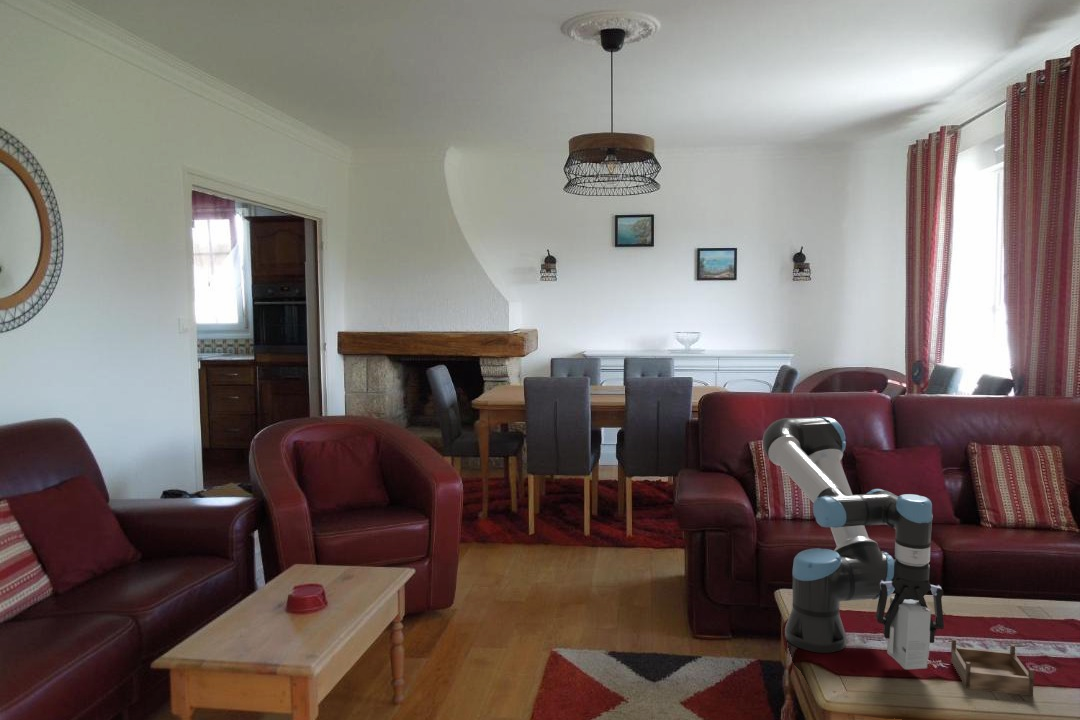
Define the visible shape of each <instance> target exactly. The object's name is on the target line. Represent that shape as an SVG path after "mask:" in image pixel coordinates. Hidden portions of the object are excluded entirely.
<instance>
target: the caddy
mask: <svg viewBox="0 0 1080 720" xmlns="http://www.w3.org/2000/svg"><path fill="white" fill-rule="evenodd" d="M950 644H951V648H950V650H951V651H950V663H951V665H952V664H953V665H952V666H954V667H955V668H954V667H953V668H954V670H955V669H956V670H955V671H957V672H956V673H958V674H959V675H958V674H957V675H958V677H959V676H960V677H959V679H960V678H961V679H960V681H961V680H962V681H961V682H962V684H963V686H964V688H965V689H968V690H978V691H985V692H995V693H1004V694H1014V695H1022V696H1030V697H1031V696H1032V697H1033V696H1034V681H1035V680H1034V679H1035V670H1034V669H1033V668H1028V669H1027V668H1026V667H1025V665H1024V664H1023V663H1022V662H1021V660H1020V659H1019V658H1018V657H1017V655H1016V645H1015V644H1013V643H1012V644H1010V645H1009V646H1010V648H1009V651H1003V650H1002V651H1000V650H991V649H990V650H988V649H981V648H972V647H971V648H969V647H961V646H957V640H956V638H951V643H950Z"/></svg>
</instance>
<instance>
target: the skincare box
mask: <svg viewBox="0 0 1080 720" xmlns="http://www.w3.org/2000/svg"><path fill="white" fill-rule="evenodd" d="M894 597H895V595H894V596H892V595H891V596H889V598H890V600H889V606H890V605H891V603H892V601H893V599H894ZM930 618H932V610H930V609H929V608H926V607H923V606H921V605H920V603H919V601H916V600H912V599H909V600H906V599H904V601H903V603H902V604H900V605H899V609H898V611H897V613H896V615H895V617H894V619H893V621H892V624H893V627H894V639H893V653H889V651H888V648H887V647H886V653H887V654H888V655H889V656H890V657H891V658H892V659H894V660H895V662H896V663H898V665H900V666H901V667H902V669H903V670H919V669H920V670H921V669H922V670H923V669H928V662H929V661H928V660H929V657H928V647H929V648H930V645H929V632H930ZM887 644H888V642H887Z"/></svg>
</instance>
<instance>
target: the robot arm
mask: <svg viewBox="0 0 1080 720" xmlns="http://www.w3.org/2000/svg"><path fill="white" fill-rule="evenodd" d="M846 438H847V437H846V435H845V431H844V429H843V426H842V425H841V424H840V423H839V421H837V420H836V419H835V418H832V417H829V416H818V415H817V416H813V417H791V418H790V417H785V418H780V419H777V420H775V421H773V422H772V423H771V424H770V425H768V427H767V428H766V429H765V431H764V434H763V437H762V449H763V451H764V455H765V456H766V457H767V458H768V460H770V462H771V463H773V464H774V465H775V466H780V467H781V468H782V469H783V471H784V472H785V473H786V474H787V476H788V477H790V478H791V480H792V481H793V482H794V483H795V484H796V485H797V487H799V489H800V490H801V491H802V492H803V493H804V494H805V495H806V496H807V497H808V499H809V500H810V501H811V502H812V503H813V505H812V513H813V516H814V518H815V522H816V523H817V524H818V525H819V526H820V527H822V528H830V531H831V532H832V536H833V539H834V542H835V545H836V547H835V549H833V550H832V549H829V548H820V547H817V548H816V547H815V548H809V549H804V550H802V551H800V552H798V553H797V554H796V555H795V557H794V558H793V564H792V565H793V566H792V570H791V572H792V574H791V575H792V605H791V606H792V608H791V611H790V614H789V616H788V619H787V622H786V624H785V628H784V636H785V640H787V642H789V643H790V644H791V645H793V646H795V647H796V648H798V649H802V650H804V651H808V652H812V653H819V654H820V653H821V654H825V653H826V654H827V653H830V654H831V653H836V651H837V652H840V651H841V650H843V649H845V647H846V646H847V634H846V630H845V628H844V625H843V622H842V619H841V615H840V603H841V602H851V601H861V600H878V601H877V606H876V612H875V619H876V621H877V623H878V624H882V625H883V630H882V632H883V633H882V634H883V636H884V638H885V639H887V643H888V644H887V646H886V649H887V648H888V651H889V653H893V639H894V627H893V624H892V621H893V619H894V617H895V615H896V613H897V611H898V609H899V605H900V604H902V603H903V601H904V599H906V600H909V599H912V600H916V601H919V603H920V605H921V606H923V607H926V608H928V605H927V603H926V599H925V596H926V595H927V594H928V592H929V591H931V594H932V597H933V607H934V619H935V621H933V619H932V617H931V618H930V632H929V647H928V658H930V645H931V644H934V643H935V635H936V632H937V630H939V629H940V630H943V629H944V628H945V624H944V623H945V622H944V615H943V612H944V611H943V603H942V597H943V595H944V589H943V588H942V586H941V585H940V584H936V585H934V584H931V583H930V571H931V570H930V569H931V567H930V564H929V563H930V561H931V542H932V541H931V540H932V528H933V527H932V525H933V517H934V515H933V504H932V501H931V499H930V498H928V497H926V496H922V495H919V494H913V493H912V494H911V493H908V494H907V493H906V494H904V493H903V494H901V495H899V496H898V495H896V494H895V493H892V492H891V491H888V490H884V489H881V488H874V489H871V490H870V491H868V492H867V493H864V494H863V493H862V494H853V492H852V489H851V487H850V485H849V482H848V479H847V476H846V473H845V471H844V468H843V466H842V465H843V464H841V460H842V459H843V456H844V451H845V450H846V446H847V442H846ZM875 525H876V526H877V525H887V526H888V527H890V528H891V529H893V530H895V538H894V558H895V559H894V558H893V556H892V555H890V554H889V553H888V552H886V551H881V549H880V548H879V543H878V542H877V541H875V540H873V539H871V538H870V537H869V535H868V532H867V529H866V527H865V526H875ZM894 591H895V593H894ZM893 593H894V596H895V597H894V599H893V601H892V603H891V605H890V604H889V607H888V609H887V611H886V613H885V610H886V606H887V599H888V597H891V596H892V594H893ZM928 609H929V608H928Z"/></svg>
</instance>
